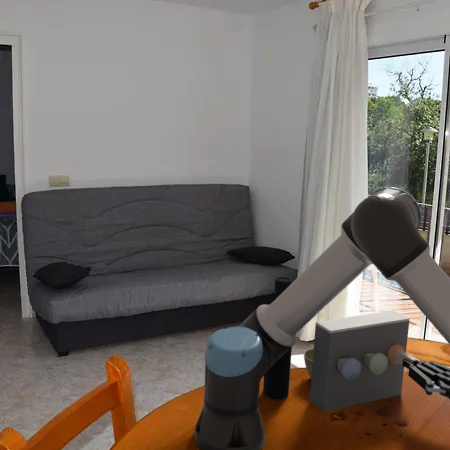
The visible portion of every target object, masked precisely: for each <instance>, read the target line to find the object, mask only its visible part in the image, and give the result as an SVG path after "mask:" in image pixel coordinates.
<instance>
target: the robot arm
mask: <svg viewBox="0 0 450 450" xmlns="http://www.w3.org/2000/svg"><path fill="white" fill-rule="evenodd" d="M421 220H422V213H421V209H420V205H419V203H418V202H417V200H416V199H415V197H414V196H413V195H412V194H411V193H409V192H408V191H406V190H404V189H401V188H398V187H392V186H391V187H389V186H388V187H382V188H379V189H376V190H374V191H373V192H372V193H371V194H369V196H368V197H366V198H365V199H363V200H362V201H360V202H359V204H358V205H357V206H356V207H355V209H354V211H353V212H352V213H351V214H350V215H349V216H348V217H347V218H346V219H345V220H344V221H343V222H342V223H341V224H340V229H341V230H340V232H341V233H340V235H339V236H338V237H337V238H336V239H335V240H334V241H333V242H332V243H331V244H330V245H329V246H328V247H327V248H326V249H325V250H324V251H323V252H322V253H321V254H320V255H319V256H318V257H317V258H316V259H315V260H314V261H313V262H312V263H311V264H310V265H309V266H308V267H307V268H306V269H305V270H304V271H303V272H302V273H301V274H299V276H298V277H297V278H295V280H294V281H293V282H291V285H290V286H289V287H288V288H287V289H286V290H285V291H284V292H283V293H282V294H281V295H280V296H279V297H278V298H277V297H276V298H277V299H276V298H275V300H273V301H272V302H271V303H270V304H261V305H259V306H258V307H257V308H256V309H254V311H253V312H252V313H251V314H250V315H249V316H248V317H247V318H246V319H244V320H243V321H242V323H240V324H239V325H238V326H230V327H229V326H228V327H227V328H226V329H225V328H222V329H219V330H217V331H215V332H213V333H212V334H211V335H210V336H209V338H208V339H207V342H206V348H205V352H204V362H205V363H204V388H203V389H204V390H203V391H204V393H203V406H202V407H201V411H200V414H199V416H198V419H197V421H196V423H195V427H194V439H193V440H194V444H195V445H196V446H197V447H198V449H199V450H262V449H263V448H264V446H265V441H266V428H265V427H264V424H263V418H262V416H261V412H260V408H259V403H260V401H259V400H260V386H261V380H262V379H263V378H264V375H265V374H266V373H267V371H268V370H269V369H270V368H271V366H272V365H273V364H274V363H275V362H276V361H277V360H278V359H279V358H280V357H282V356H283V355H284V354H285V353H286V352H287V351H288V350H289V349H290V348H291V347H292V348H293V347H294V346H295V344H296V343H297V340H298V339H297V338H298V336H297V333H299V332H300V331H301V330H302V329H303V328H304V327H305V326H306V325H308V323H309V322H310V321H312V320H313V319H314V317H317V315H318V314H319V313H320V312H321V311H322V310H323V309H325V307H327V305H328V304H330V303H331V302H332V301H333V300H334V299H336V297H337V296H338V295H339V294H341V293H342V292H343V291H344V290H345V289H346V288H347V287H348V286H349V285H350V284H351V283H352V282H354V281H355V280H357V279H356V278H358V276H360V275H361V274H362V273H363V272H364V271H365V270H366V269H368V268H369V267H370V266H371V265H374V266H375V268H376V269H377V271H379V272H380V274H381V275H382V276H383V277H384V278H385V280H387V281H393V282H396V284H397V285H398V286H399V287H400V288H401V289H402V291H403V292H404V293H405V294H406V295H407V296H408V298H409V299H410V300H411V301H412V302H413V304H415V306H416V307H417V308H418V309H419V311H421V313H422V314H423V315H424V316H425V318H426V319H427V320H428V321H429V323H431V324H432V325H433V327H434V328H435V329H436V331H438V333H439V334H440V335H441V336H442V338H443V339H445V341H446V342H447V343H448V345H450V276H449V275H448V274H447V273H446V272H445V271H444V269H443V268H442V267H441V265H439V264H438V263H437V262H436V260H435V259H434V258H433V257H432V256H431V254H430V252H431V245H430V244H429V243H428V242H427V241H426V240H425V238H424V237H423V236H422V235H421V233H420V232H419V228H420V226H421V223H422V222H421ZM395 361H396V362H398V363H399V364H401V365H403V366H404V368H406V369H408V374H407V376H408V377H409V378H411V380H413V381H414V382H415V383H416V384H417V385H418V386H419V387H421V388H422V389H423V390H424V392H425V394H426V395H427V396H432V395H433V393H439V395H441V396H442V397H446V398H447V399H448V400H450V367H449V366H446V365H444V364H442V363H439V362H436V361H433V360H429V361H426V360H420V359H419V358H417V357H415V356H413V355H411V354H409V353H407V351H406V352H404V351H402V350H399V351H396V360H395Z"/></svg>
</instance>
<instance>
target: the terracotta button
mask: <svg viewBox="0 0 450 450" xmlns="http://www.w3.org/2000/svg"><path fill="white" fill-rule="evenodd" d="M399 350H402V351H404V352H405V349H404V347H403V346H401V345H399V344H393V345H391V346H390V347H389V348H388V350H387V352H386V357H387V359H388V362H390V363H392V364H394V365H396V364H399V363H398V362H396V361H395V360H396V351H399Z"/></svg>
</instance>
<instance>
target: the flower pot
mask: <svg viewBox="0 0 450 450" xmlns="http://www.w3.org/2000/svg"><path fill="white" fill-rule="evenodd" d="M313 352H314V348H309V349H307V350H305V351H304V352H303V358H304V366H305V369H306V370H307V373H308V376H309V378H310V379H311V377H312V364H313Z"/></svg>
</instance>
